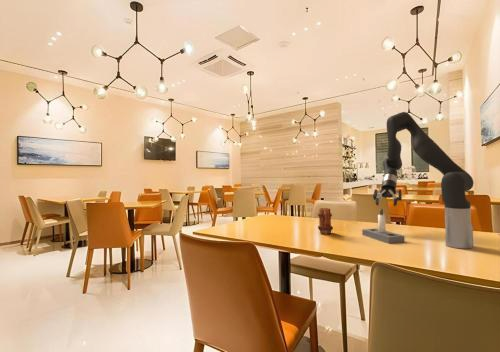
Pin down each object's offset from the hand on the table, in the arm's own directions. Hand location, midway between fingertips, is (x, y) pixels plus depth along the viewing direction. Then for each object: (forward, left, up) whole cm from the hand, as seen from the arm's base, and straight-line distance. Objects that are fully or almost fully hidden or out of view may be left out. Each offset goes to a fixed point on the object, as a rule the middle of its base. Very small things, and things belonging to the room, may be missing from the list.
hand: (385, 204), depth 149 cm
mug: (+31, -11, -16) cm, 36 cm away
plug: (+9, +7, -16) cm, 20 cm away
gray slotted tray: (+9, +7, -16) cm, 20 cm away
